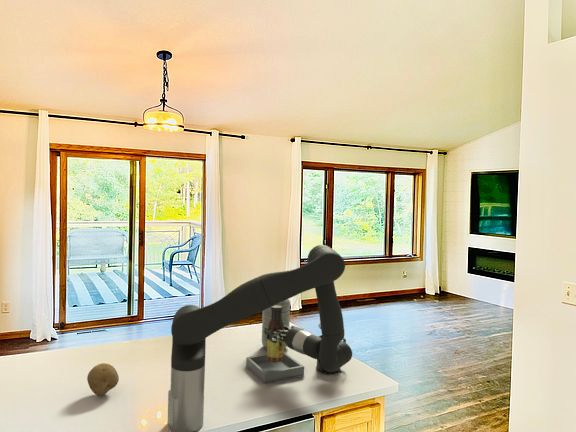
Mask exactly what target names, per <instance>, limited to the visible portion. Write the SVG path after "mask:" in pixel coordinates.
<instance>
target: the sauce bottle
mask: <svg viewBox="0 0 576 432" xmlns="http://www.w3.org/2000/svg"><path fill="white" fill-rule="evenodd" d="M271 311H272V316H271V318H272V319H271V320H270V321H269V324H268V328H269V329H271V330H275V331H276V330H285V327H284V324H283V321H282V317H281V316H282V306H278V305H275V306H272V307H271ZM279 333H280V332H278V337H279ZM273 334H275V333H273ZM266 351H267V353H266V354H267V356H268V357H267V358H268V360H269V361H271V362H280V361H282V360H283V357H284V352H285V349H284V342H282V341H279V340H277V343H273V342H271V341H270V340H268V341H267V350H266Z"/></svg>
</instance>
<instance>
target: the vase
mask: <svg viewBox="0 0 576 432" xmlns="http://www.w3.org/2000/svg"><path fill="white" fill-rule="evenodd" d="M276 305H278V306H282V316H281V317H282V321H283V324H284V326H286V327H287V326H289V327H290V323H291V322H290V320H291V319H290V318H291V301H290V298H289V299H287V300H285V301H282V302H280V303H278V304H276ZM274 306H275V305H274ZM271 316H272V311H271V307H270V308H268V309H266V310H263V311H262V323H261V324H262V325H261V343H262V346H264V349H265V350H266V351H267V341H268V339H266V337H267V334H265V333H264V328H266V327H267V328H268V324H269V321H270V320H271V319H272V318H271ZM286 347H287V345H286V343H285V342H284V350H286ZM287 348H288V347H287Z"/></svg>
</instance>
